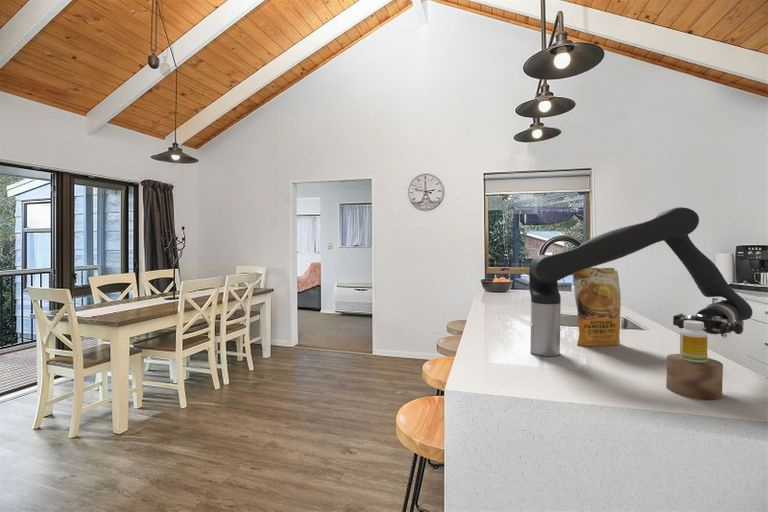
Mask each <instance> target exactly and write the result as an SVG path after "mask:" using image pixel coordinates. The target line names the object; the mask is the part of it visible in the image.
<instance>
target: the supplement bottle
mask: <svg viewBox="0 0 768 512" xmlns="http://www.w3.org/2000/svg"><path fill="white" fill-rule="evenodd" d="M703 328H704V323H703V322H700V321H693V320H685V321H684V328H681V330H680V332H679V336H680V337H679V354H680V358H681V359H683V360H686V361H689V362H695V363H704V362H707V358H708V333H706V332H705V331H703Z"/></svg>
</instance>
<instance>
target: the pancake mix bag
mask: <svg viewBox="0 0 768 512" xmlns="http://www.w3.org/2000/svg"><path fill="white" fill-rule="evenodd" d="M615 269H616V268H615V267H614V268H613V267H590V268H586V269H583V270H580V271H578V272H575V273H573V274H572V282H573V287H574V288H573V289H574V300H575V305H576V309H577V310H576V311H577V326H578V339H577V343H576V346H583V347H614V346H618V345H619V344H621V340H620V335H621V334H620V333H621V329H620V328H621V306H622V305H621V297H622V296H621V290H620V282H619V280H620V279H619V274H618V270H615Z"/></svg>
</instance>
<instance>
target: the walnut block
mask: <svg viewBox="0 0 768 512" xmlns="http://www.w3.org/2000/svg"><path fill="white" fill-rule="evenodd" d="M723 373H724V364H723V363H722V362H721V361H719V360H716V359H713V358H710V357H707V362H704V363H695V362H689V361H686V360H683V359H681V358H680V353H672V354H668V355H667V356H666V376H665V377H666V378H665V379H666V381H665V382H666V383H665V384H666V385H665V387H666V389H667V390H668V391H670V392H672V393H673V394H676V395H679V396H682V397H686V398H689V399H695V400H702V401H719V400H721V399H722V398H723V381H724V380H723V377H724V376H723V375H724V374H723Z"/></svg>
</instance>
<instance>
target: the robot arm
mask: <svg viewBox="0 0 768 512" xmlns="http://www.w3.org/2000/svg"><path fill="white" fill-rule="evenodd" d="M699 223H700V217H699V215H698V213H697V212H696V211H695V210H693V209H692V208H689V207H683V206H682V207H681V206H680V207H674V208H670V209H668V210H665V211H662V212H659V213H658V214H657V215H656V216H655V217H654V218H652V219H649V220H647V221H644V222H641V223H635V224H632V225H631V224H630V225H628V226H624V227H620V228H615V229H612V230H609V231H607V232H603V233H602V234H599V235H596V236H594V237H591V238H590V239H587V241H585V242H583V243H581V244H579V246H577V247H575V248H572V249H569V250H567V251H563V252H559V253H555V254H539V255H536V256H535V257H533V259H532V260H531V262H530V264H529V270H528V271H529V273H528V274H529V276H528V277H529V293H530V354H535V355H538V356H542V355H543V356H545V357H556V356H559V355H560V354H561V307H562V306H561V304H562V303H561V294H560V291H559V288H558V282H559V281H560V280H562V279H564V278H567V277H569V276H570V275H573V273H575V272H578V271H580V270H583V269H586V268H595V267H597V266H600V265H605V264H606V263H609V262H613V261H615V260H619V259H620V258H624V257H626V256H629V255H632V254H634V253H636V252H639V251H641V250H643V249H645V248H647V247H650V246H652V245H654V244H657V243H660V242H663V241H664V243H666V245H667V247H669V249H670V250H672V251H673V253H674V254H675V255H676V257H677V258H678V259H679V260H680V262H681V264H682V265H684V267H685V269H686V270H687V272H688V273H689V274H690V277H691V278H692V280H693V281H694V283H695V284H696V286H697V288H698V289H699V291H700V293H701V294H702V295H703V296H704V297H705V298H724V299H725V300H720V301H718V302H717V301H716V302H713V303H710V304H708V305H707V306H706V307H703V308H701V309H700V310H698V312H697V313H696V314H694V315H692V314H690V315H687V316H686V314H684V313H679V314H676V315H673V317H672V318H673V319H672V321H673V322H672V325H673V326H676V327H678V328H679V329H685V327H684V321H685V320H693V321H700V322H703V323H704V328H703V331H705V332H706V333H707V334H710V335H725V334H732V332H734V334H737V335H742V333H743V332H744V327H745V325H744V324H745V321H747V320H750V319H751V318H752V316H753V308H752V307H751V305H750V304H749V302H747V300H745V298H743V297H742V296H741V295H739V294H738V293H737V292H736V291H735V290H734V289H733V288H732V287H731V286H730V285H729V284H728V281H726V279H725V277H724V276H723V274H722V272H721V271H720V270H719V268H718V266H717V265H716V264H715V263H714V262H713V261H712V260H711V259H710V258H709V257H708V256H707V255H705V254H704V253H703V252H702V251H701V250H699V248H698V247H697V246H696V245H695V244H694V243H693V241H692V240H691V238H690V236H689V235H690V234H692V233H693V232H694V231H695V230H697V228H698V226H699Z"/></svg>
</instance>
